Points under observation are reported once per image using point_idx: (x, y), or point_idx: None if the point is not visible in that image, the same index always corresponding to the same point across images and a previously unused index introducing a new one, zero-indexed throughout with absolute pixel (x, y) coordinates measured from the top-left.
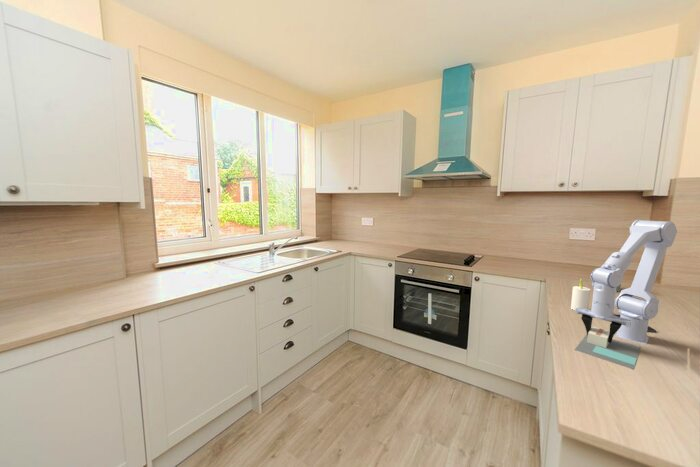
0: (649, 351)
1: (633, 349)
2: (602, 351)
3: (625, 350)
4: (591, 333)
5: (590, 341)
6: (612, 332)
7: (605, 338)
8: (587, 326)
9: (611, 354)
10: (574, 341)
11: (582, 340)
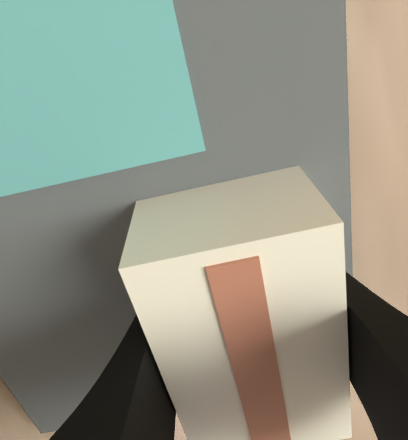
0: (6, 429)
1: (33, 367)
2: (95, 48)
3: (40, 302)
4: (303, 240)
5: (274, 180)
6: (97, 408)
7: (137, 258)
8: (406, 341)
9: (8, 63)
10: (398, 87)
11: (343, 160)
